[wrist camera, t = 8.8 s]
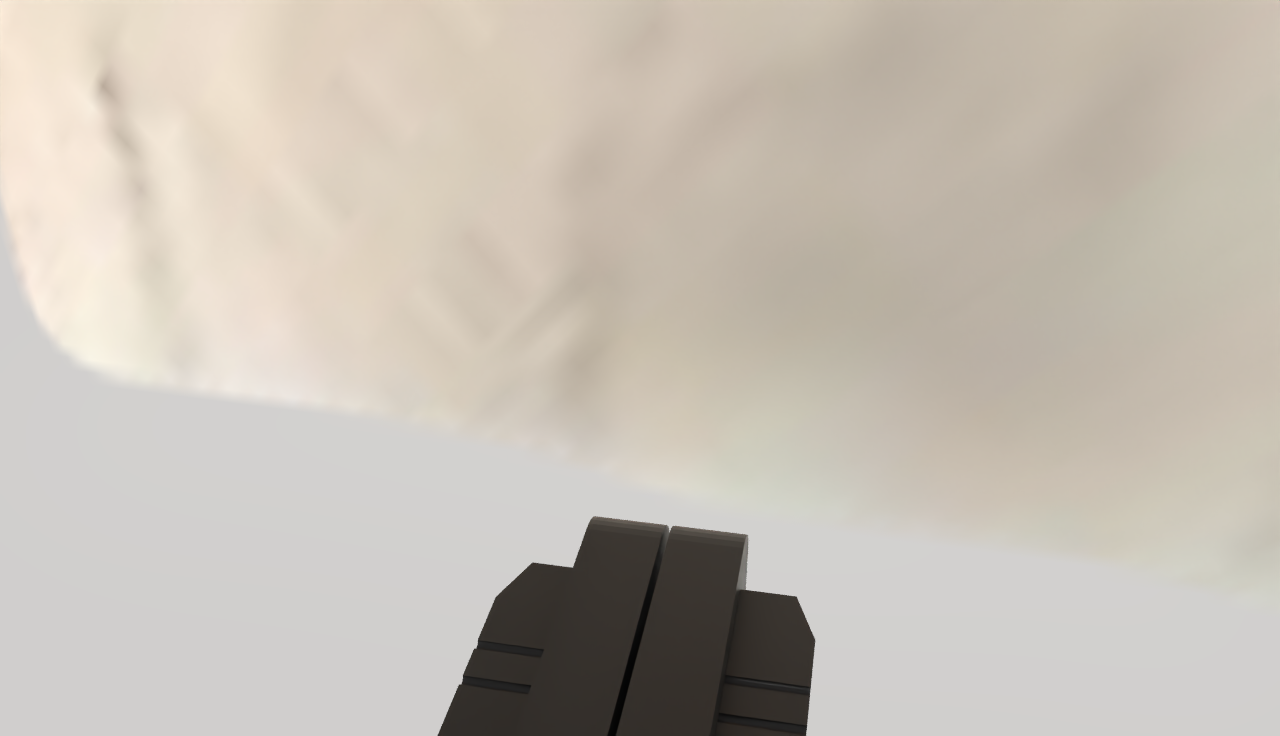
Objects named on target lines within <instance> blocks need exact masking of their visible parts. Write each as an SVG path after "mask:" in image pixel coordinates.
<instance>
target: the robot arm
mask: <svg viewBox="0 0 1280 736" xmlns="http://www.w3.org/2000/svg"><path fill="white" fill-rule="evenodd" d="M747 555H748V535H745V534H737V533H729V532H720V531H713V530H703V529H695V528H688V527H680V526H673V527H672V528H671V531H670V533H669V528H668V526H667V525H661V524H653V523H645V522H637V521H628V520H620V519H612V518H604V517H596V516H595V517H593V518H592V519H591V520H590V522H589V525H588V527H587V529H586V532H585V535H584V538H583V541H582V544H581V546H580V550H579V552H578V555H577V558H576V561H575V563H574V566H573V568H570V567H562V566H554V565H547V564H539V563H532V564H531V565H529V566H528V567H527V568H526V569H525V570H524V571H523V572H522V573H521V574H520V575H519V576H518V577H517V578H516V579H515V580H514V581H512V582H511V583H510V584H509V585H508V586H507V587H506V588H505V589H504V590H503V591H502V592H501V593H500V594H499V595H498V596H497V597H496V598H495V600H494V603H493V605H492V608H491V610H490V612H489V615H488V617H487V619H486V622H485V624H484V627H483V629H482V631H481V634H480V636H479V638H478V645H477V649H474V650H473V653H472V655H471V658H470V660H469V662H468V665H467V667H466V669H465V672H464V674H463V682H462V684H461V685H459V686H458V688H457V691H456V693H455V696H454V698H453V700H452V703H451V705H450V707H449V710H448V712H447V715H446V717H445V719H444V722H443V724H442V726H441V729H440V731H439V734H438V736H806V730H807V719H808V710H809V698H810V688H811V678H812V667H813V657H814V647H815V639H814V636H813V634H812V632H811V630H810V627H809V625H808V622H807V620H806V618H805V615H804V613H803V611H802V608H801V606H800V604H799V602H798V599H797V597H795V596H787V595H780V594H772V593H764V592H757V591H749V590H745V589H746V573H747Z"/></svg>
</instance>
